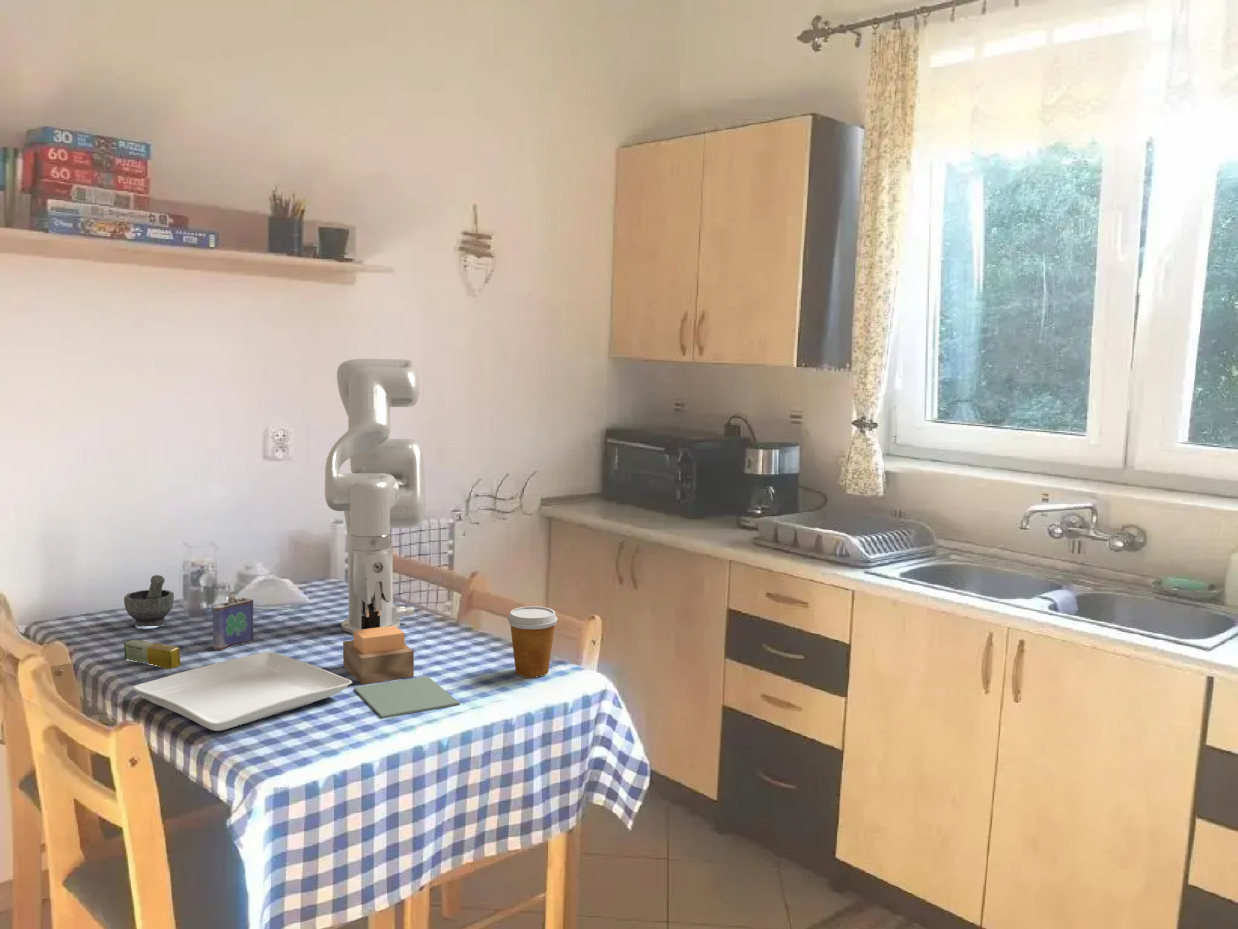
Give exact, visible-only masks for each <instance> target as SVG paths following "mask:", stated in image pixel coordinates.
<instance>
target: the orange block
mask: <svg viewBox="0 0 1238 929" xmlns="http://www.w3.org/2000/svg"><path fill="white" fill-rule="evenodd" d="M353 640H354V646H355V647H356V648H357V649H358V650H359V651H360V652H361V653H362V654H368V653H375V652H382V651H389V650H396V649H404V648H405V645H406V643H405V632H403V630H401V629H400V628H397V627H396V626H394V625H393V626H385V627H378V628H370V629H362V630H354V633H353Z"/></svg>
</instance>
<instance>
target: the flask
mask: <svg viewBox="0 0 1238 929" xmlns="http://www.w3.org/2000/svg"><path fill="white" fill-rule="evenodd" d="M225 596H226V597H227V598H228V599H226V600H227V602H224V603H220V604H217V605H213V606H212V608H211V612H212V649H213V650H214V651H215V650H216V651H217V650H218V651H220V650H223V649H224V650H227V649H229V648H228V647H231V646H233V645H236V644H240V645H241V644H242V643H244V644H248V643H252V642H251V641H253V640H254V600H253V599H251V598H250V597H248V598H247V597H246V598H245V597H240V598H235V594H234V593H228V594H226V595H225ZM247 642H248V643H247ZM253 642H254V641H253ZM242 645H243V644H242ZM226 648H227V649H226ZM231 648H232V647H231ZM224 650H223V651H224Z"/></svg>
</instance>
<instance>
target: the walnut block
mask: <svg viewBox="0 0 1238 929" xmlns="http://www.w3.org/2000/svg"><path fill="white" fill-rule="evenodd" d="M414 652H415V651H414V650H413V649H412V648H410V647H409V646H408V645H407V644H405V648H404V649H396V650H389V651H382V652H375V653H368V654H362V653H361V652H360V651H359V650H358V649H357V648H356V647H355V646H354V639H353V640H351V639H350V640H344V641H342V654H343V655H342V657H343V658H342V660H343V662H342V664H343V665H342V666H343V668H345V670H346V671H347V672H348V673H349V674H350V675H351V676H353V678H355V680H356V681H357V682H358V683H359V684H361V685H362V686H364V685H368V684H369V685H371V684H377V683H383V682H390V681H394V680H395V681H396V680H403V679H409V678H415V677H414V676H415V675H414V673H415V667H414V666H415V664H414V660H415V658H414V656H415V655H414V654H415V653H414Z"/></svg>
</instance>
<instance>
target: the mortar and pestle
mask: <svg viewBox="0 0 1238 929" xmlns="http://www.w3.org/2000/svg"><path fill="white" fill-rule="evenodd" d="M164 583H165V578H164V576H162V575H159V574H154V575H152V576H151V577H150V585H149V588H148V589H143V590H137V591H134V592H130V593H127V594H126V595H125V596H124V597H123V600H124V601H123V602H124V607H125V612H127V614H128V615H129V617H131V618H132V619H133V620H134V624H135V625H137V626H161V625H163V624H164V623H165V622H166V618H165V617H166V616H168V615H169V613H170V612H171V610H172V608H173V606H174V598H175V593H174V592H173V591H172V590H171V591H170V590H168V589H163V585H164ZM166 623H167V622H166Z"/></svg>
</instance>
